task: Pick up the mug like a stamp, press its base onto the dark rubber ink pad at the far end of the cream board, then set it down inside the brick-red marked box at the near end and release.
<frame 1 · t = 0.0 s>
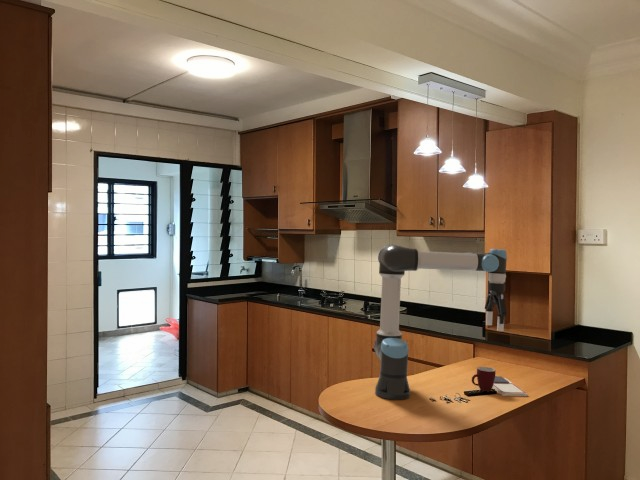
hand: (494, 328, 239), 28 cm above the table, fingers open, 13 cm apart
board: (503, 387, 240), on the table
mug: (482, 391, 234), on the table
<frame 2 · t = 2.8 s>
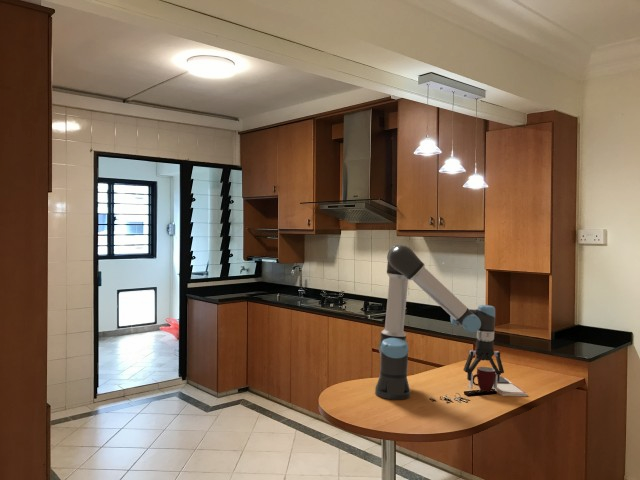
hand: (482, 387, 234), 1 cm above the table, fingers closed on mug, 11 cm apart
mug: (482, 391, 234), on the table, touching gripper
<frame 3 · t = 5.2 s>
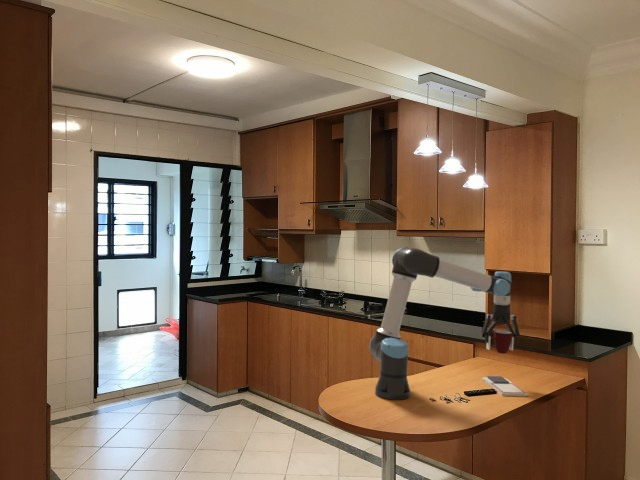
hand: (499, 349, 247), 16 cm above the table, fingers closed on mug, 11 cm apart
mug: (499, 353, 247), point 15 cm above the table, touching gripper
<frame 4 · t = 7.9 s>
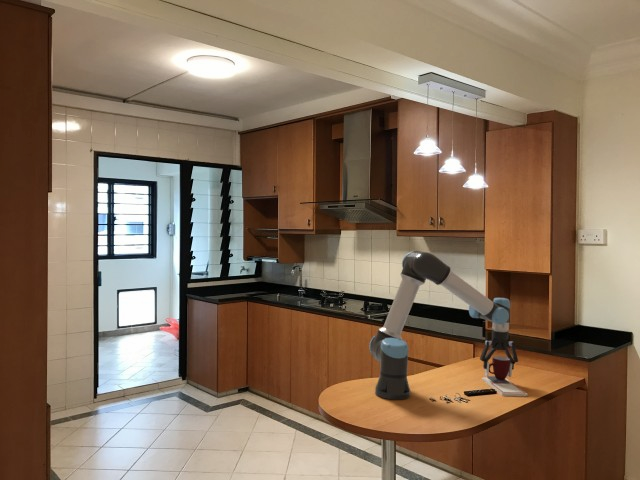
hand: (498, 376, 247), 3 cm above the table, fingers closed on mug, 11 cm apart
mug: (498, 379, 247), point 2 cm above the table, touching board, gripper
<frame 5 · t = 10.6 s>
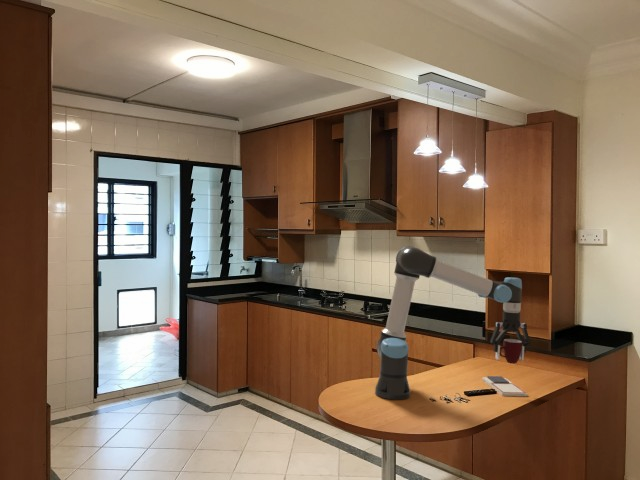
hand: (509, 359, 235), 14 cm above the table, fingers closed on mug, 11 cm apart
mug: (509, 362, 235), point 13 cm above the table, touching gripper
when the fingers open (4 cm above the table, at t = 12.9 s): mug drops 1 cm, resting on board.
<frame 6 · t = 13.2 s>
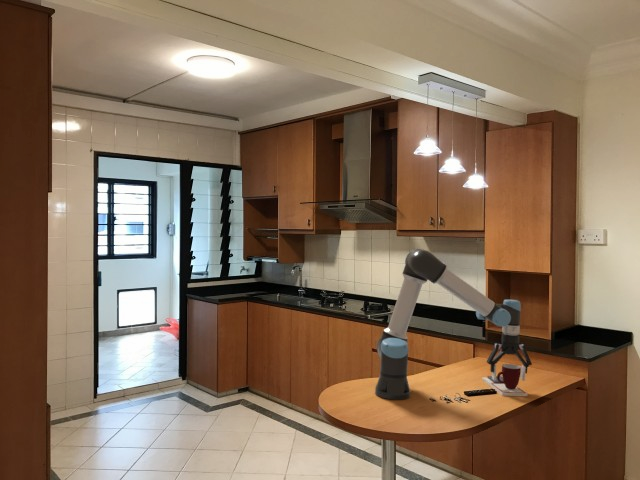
hand: (508, 379, 236), 5 cm above the table, fingers open, 13 cm apart
mug: (508, 388, 236), point 1 cm above the table, touching board
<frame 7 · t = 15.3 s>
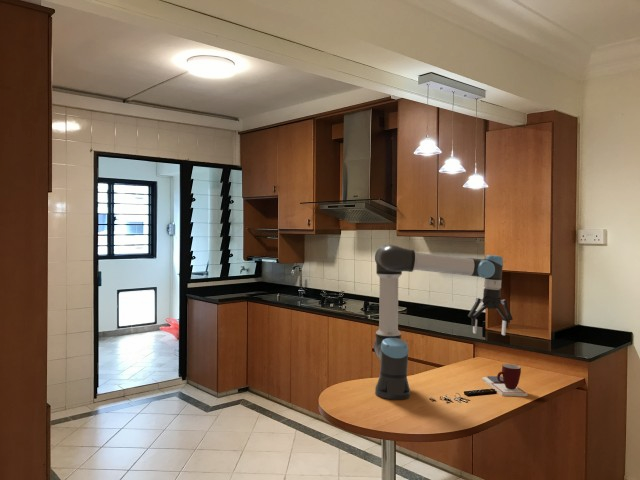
hand: (488, 334, 239), 25 cm above the table, fingers open, 13 cm apart
nothing on the table moved.
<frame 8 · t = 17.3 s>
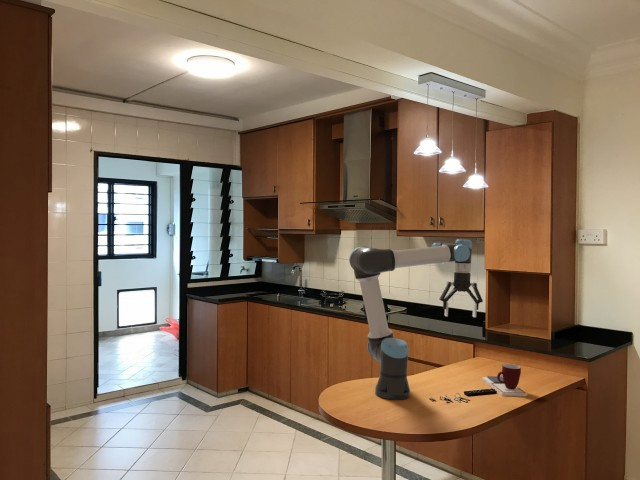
hand: (460, 316, 245), 32 cm above the table, fingers open, 13 cm apart
nothing on the table moved.
at the end: mug inside the target area on the board (0.4 cm from its centre), point 1.0 cm above the board's base; mug tilted 0°; the gripper is holding nothing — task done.
